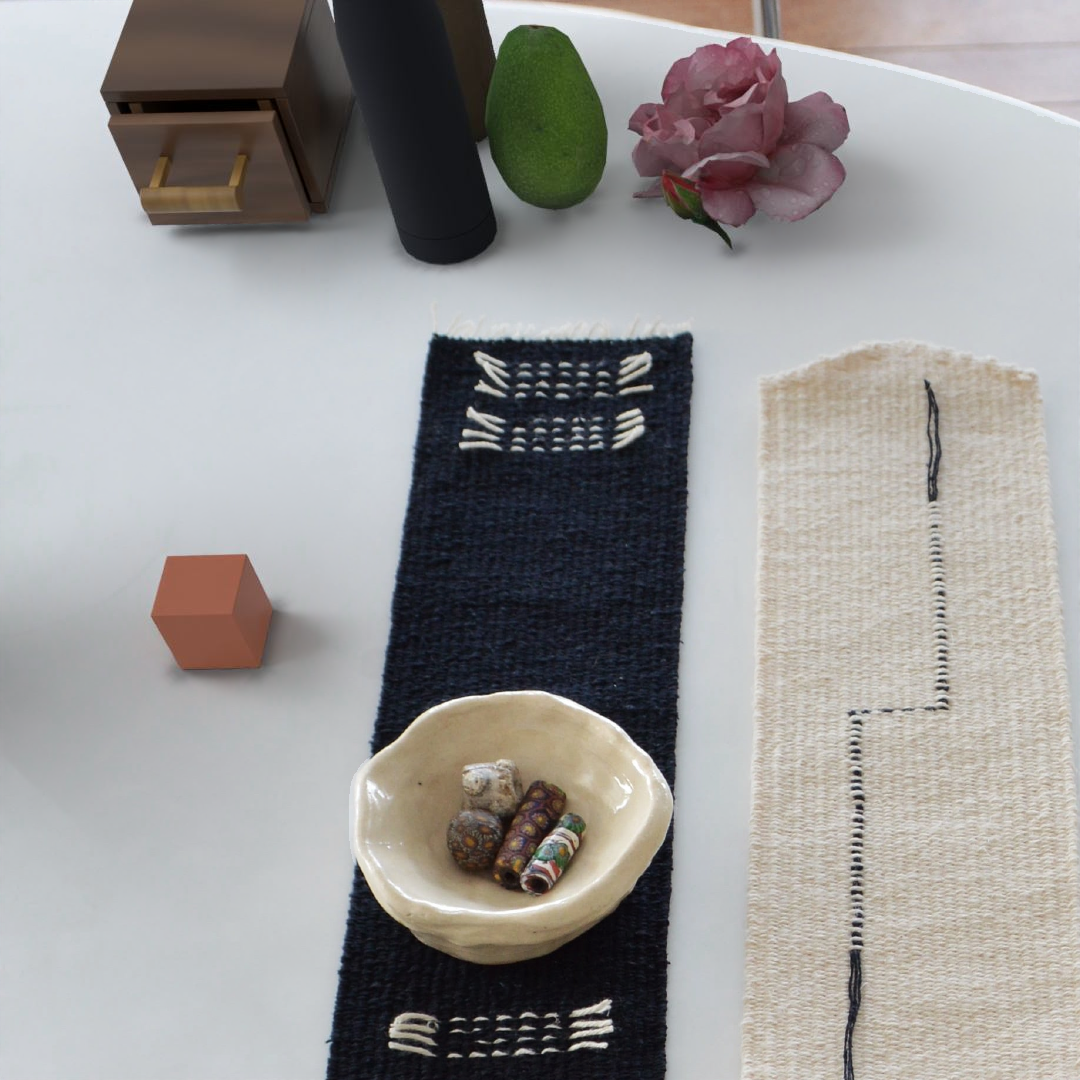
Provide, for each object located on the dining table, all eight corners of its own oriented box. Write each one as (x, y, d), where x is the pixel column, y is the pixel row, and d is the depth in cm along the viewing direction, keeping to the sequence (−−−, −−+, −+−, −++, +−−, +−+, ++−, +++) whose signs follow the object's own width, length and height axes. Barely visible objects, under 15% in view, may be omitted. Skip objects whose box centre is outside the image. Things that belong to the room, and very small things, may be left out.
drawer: (297, 268, 114) (259, 168, 108) (136, 272, 114) (89, 172, 108) (337, 108, 123) (304, 6, 117) (188, 111, 123) (147, 10, 117)
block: (180, 669, 98) (149, 616, 94) (196, 610, 100) (166, 555, 96) (260, 667, 98) (232, 614, 94) (273, 608, 100) (247, 553, 96)
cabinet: (327, 212, 118) (283, 86, 111) (155, 216, 118) (98, 90, 111) (356, 91, 126) (317, -35, 118) (193, 95, 125) (143, -31, 118)
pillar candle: (536, 109, 124) (488, -110, 112) (429, 174, 121) (367, -45, 108) (446, 56, 128) (390, -162, 115) (340, 118, 124) (269, -101, 111)
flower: (860, 92, 120) (809, -34, 111) (863, 254, 114) (808, 136, 106) (661, 147, 124) (597, 31, 115) (654, 308, 118) (585, 197, 109)
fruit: (636, 214, 118) (606, 44, 108) (524, 247, 116) (482, 77, 106) (597, 149, 122) (564, -22, 112) (488, 180, 120) (444, 9, 110)
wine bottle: (493, 263, 116) (360, -234, 90) (395, 266, 115) (235, -231, 90) (502, 202, 119) (377, -295, 93) (407, 204, 119) (256, -292, 93)
